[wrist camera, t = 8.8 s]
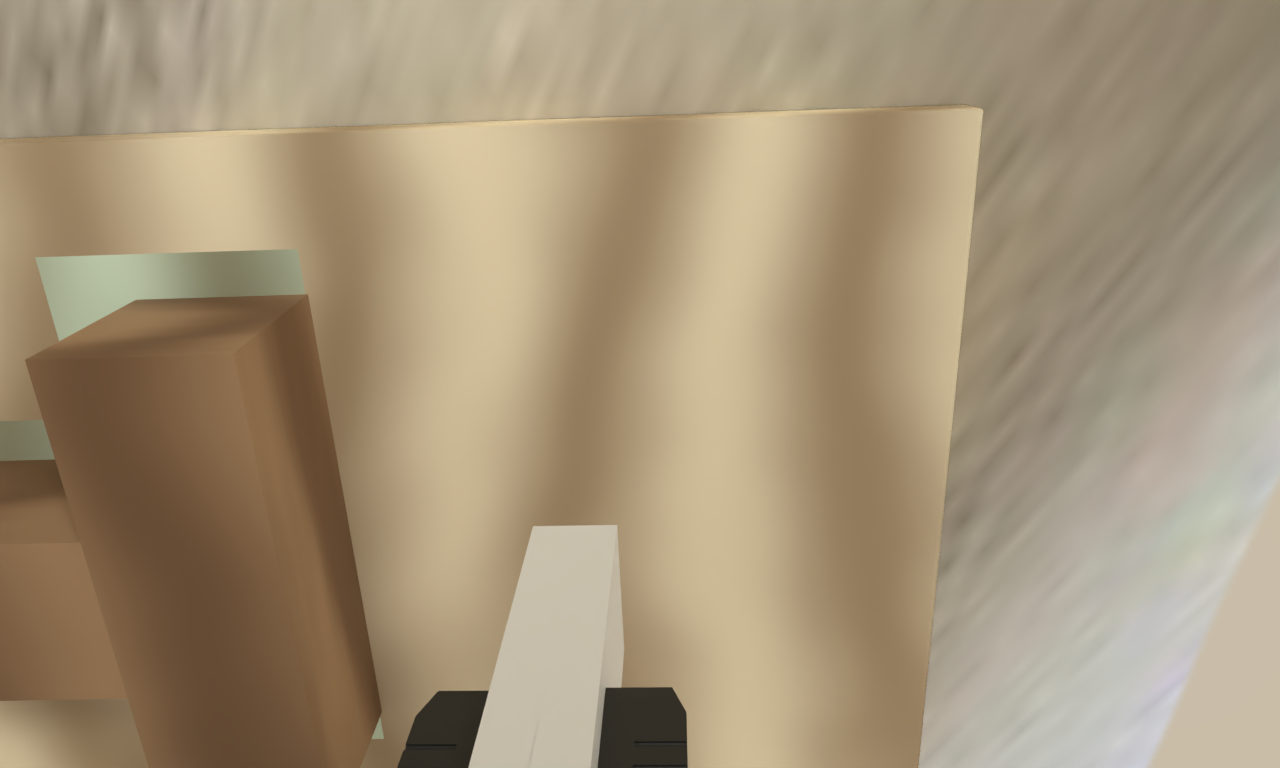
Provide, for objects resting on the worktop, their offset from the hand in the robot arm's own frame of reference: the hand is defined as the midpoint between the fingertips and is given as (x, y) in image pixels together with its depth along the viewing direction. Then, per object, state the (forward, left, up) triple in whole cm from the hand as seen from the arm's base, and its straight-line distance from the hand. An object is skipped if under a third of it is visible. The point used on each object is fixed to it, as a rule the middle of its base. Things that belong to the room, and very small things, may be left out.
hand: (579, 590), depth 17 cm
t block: (+12, +2, -6) cm, 14 cm away
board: (+7, +2, -7) cm, 10 cm away
